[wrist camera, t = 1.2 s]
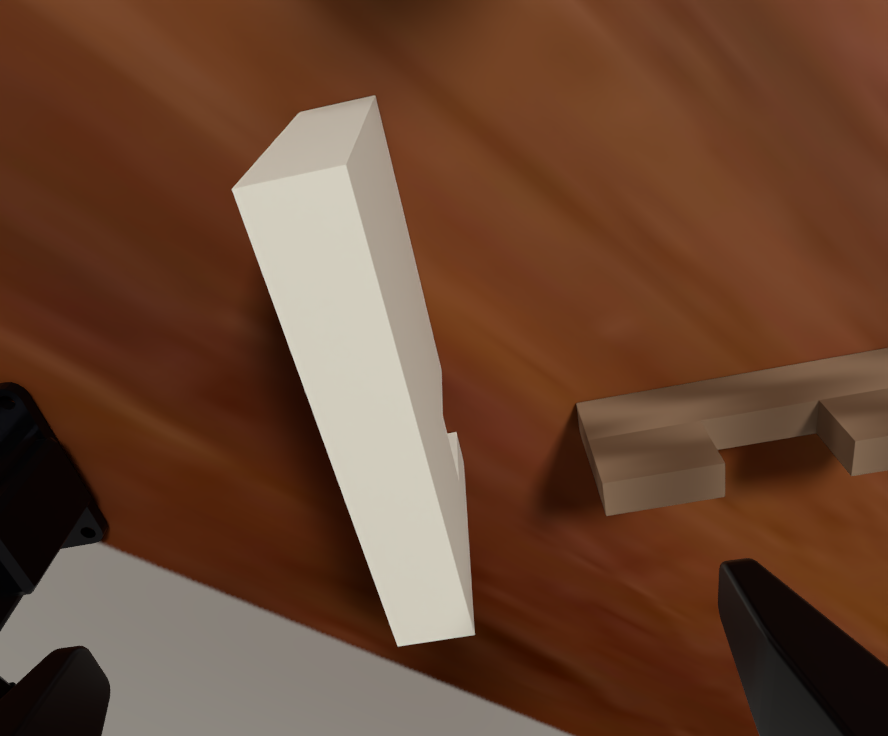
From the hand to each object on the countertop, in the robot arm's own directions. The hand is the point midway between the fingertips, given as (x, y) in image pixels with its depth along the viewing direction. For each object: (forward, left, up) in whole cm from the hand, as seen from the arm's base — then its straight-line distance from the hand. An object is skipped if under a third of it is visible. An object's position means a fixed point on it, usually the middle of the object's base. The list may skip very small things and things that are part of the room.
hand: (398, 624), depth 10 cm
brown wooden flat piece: (+9, -6, -12) cm, 16 cm away
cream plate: (-1, -1, -12) cm, 12 cm away
